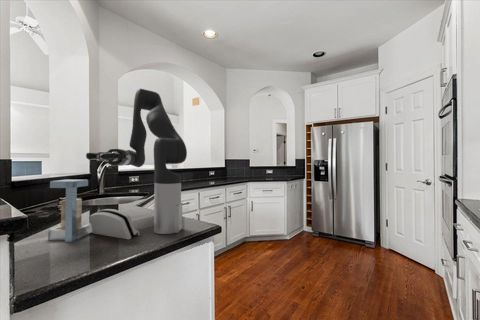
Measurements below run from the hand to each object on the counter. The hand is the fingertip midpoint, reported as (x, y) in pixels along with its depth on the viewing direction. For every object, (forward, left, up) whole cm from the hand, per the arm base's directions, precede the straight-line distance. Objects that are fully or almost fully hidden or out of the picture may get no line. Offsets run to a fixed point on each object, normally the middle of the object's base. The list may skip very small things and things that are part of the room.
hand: (98, 155), depth 92 cm
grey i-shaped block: (+2, +13, -27) cm, 30 cm away
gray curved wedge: (-11, +11, -27) cm, 32 cm away
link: (+2, +12, -27) cm, 30 cm away
